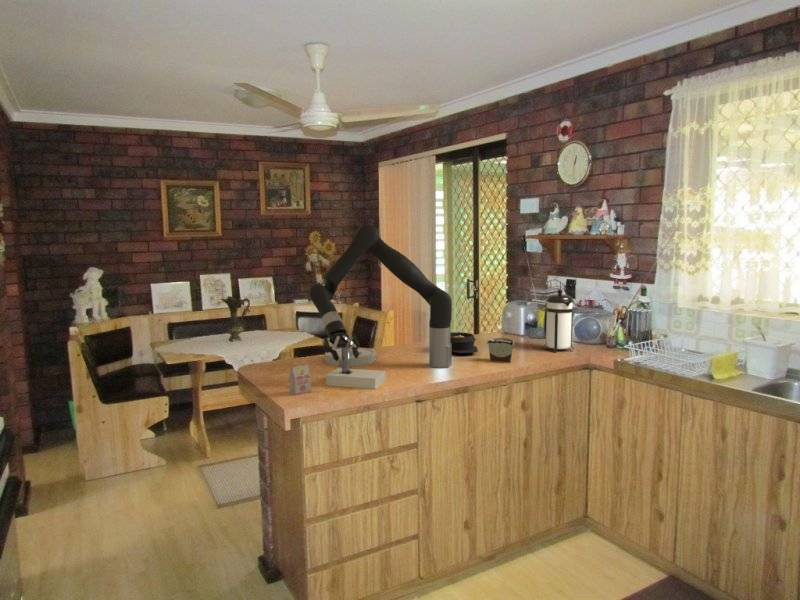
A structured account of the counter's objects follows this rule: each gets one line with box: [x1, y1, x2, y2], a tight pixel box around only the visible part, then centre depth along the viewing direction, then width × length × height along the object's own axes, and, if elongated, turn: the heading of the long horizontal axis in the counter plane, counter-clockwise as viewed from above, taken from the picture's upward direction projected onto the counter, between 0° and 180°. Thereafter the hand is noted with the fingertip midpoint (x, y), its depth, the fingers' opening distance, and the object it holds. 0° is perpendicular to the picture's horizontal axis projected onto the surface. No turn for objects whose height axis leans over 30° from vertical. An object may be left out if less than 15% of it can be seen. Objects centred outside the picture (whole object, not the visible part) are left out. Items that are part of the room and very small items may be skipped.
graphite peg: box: [340, 346, 351, 374], centre depth 222 cm, size 3×3×14 cm
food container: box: [486, 337, 515, 364], centre depth 258 cm, size 12×6×10 cm, turn 65°
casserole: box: [450, 331, 479, 355], centre depth 279 cm, size 25×19×8 cm
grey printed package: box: [288, 364, 312, 396], centre depth 209 cm, size 4×7×10 cm, turn 128°
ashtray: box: [324, 347, 377, 367], centre depth 262 cm, size 23×23×4 cm
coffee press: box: [542, 289, 575, 353], centre depth 281 cm, size 17×16×30 cm
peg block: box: [325, 367, 386, 390], centre depth 222 cm, size 20×12×4 cm, turn 73°
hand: (347, 358), depth 221 cm, fingers open, 8 cm apart
